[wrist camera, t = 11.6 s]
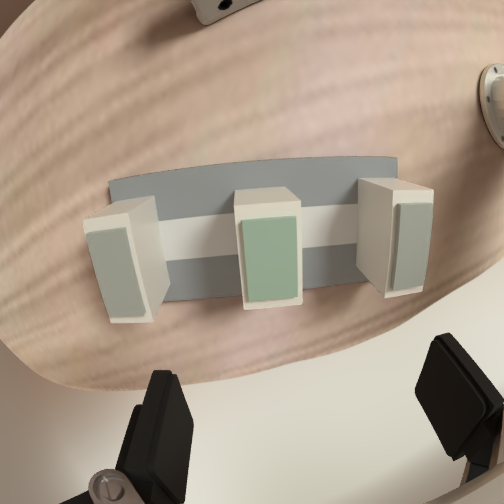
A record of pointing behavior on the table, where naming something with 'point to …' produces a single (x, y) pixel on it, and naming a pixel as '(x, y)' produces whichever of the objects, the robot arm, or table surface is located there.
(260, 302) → the block
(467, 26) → the table surface
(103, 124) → the table surface
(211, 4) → the electrical switch
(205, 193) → the rail board
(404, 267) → the mounted modules
